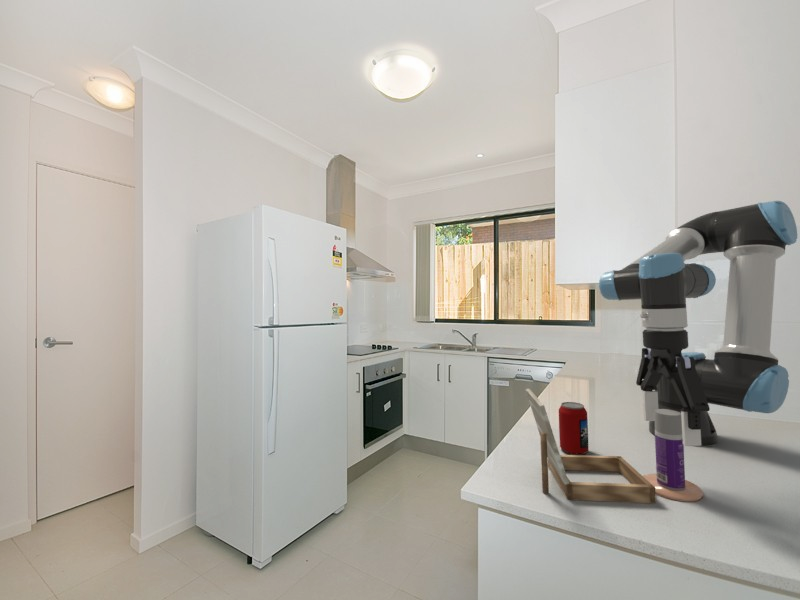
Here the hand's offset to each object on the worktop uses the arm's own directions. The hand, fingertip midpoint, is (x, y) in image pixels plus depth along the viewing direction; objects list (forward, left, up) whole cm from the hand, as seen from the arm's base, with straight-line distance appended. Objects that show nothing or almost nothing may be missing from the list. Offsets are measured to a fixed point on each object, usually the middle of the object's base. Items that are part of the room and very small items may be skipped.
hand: (670, 431), depth 74 cm
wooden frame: (+17, -1, -11) cm, 20 cm away
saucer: (0, 0, -12) cm, 11 cm away
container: (0, 0, -11) cm, 11 cm away
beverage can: (+13, -18, -12) cm, 25 cm away
